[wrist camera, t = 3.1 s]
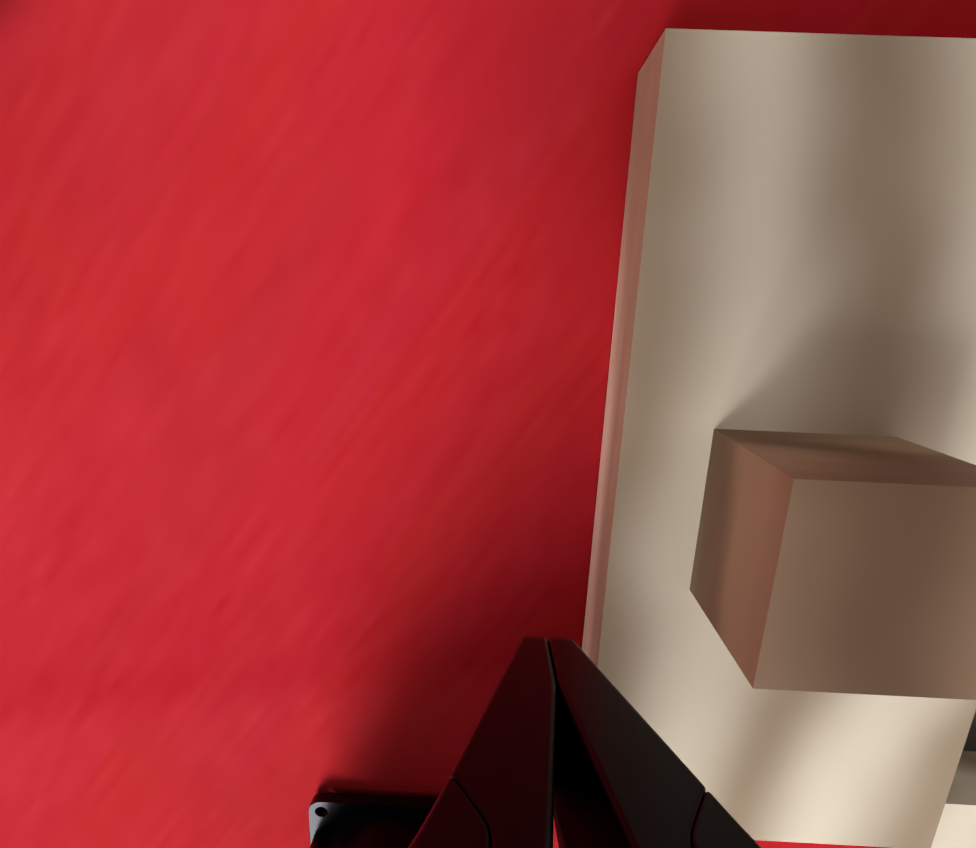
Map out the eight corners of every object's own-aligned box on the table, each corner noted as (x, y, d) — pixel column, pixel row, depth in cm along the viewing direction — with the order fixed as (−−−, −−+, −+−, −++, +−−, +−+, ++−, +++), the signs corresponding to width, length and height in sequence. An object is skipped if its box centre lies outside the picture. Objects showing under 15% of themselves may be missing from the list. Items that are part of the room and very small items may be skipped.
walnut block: (689, 589, 15) (752, 688, 12) (714, 428, 14) (793, 478, 10) (857, 597, 15) (978, 700, 11) (896, 436, 14) (1045, 490, 10)
